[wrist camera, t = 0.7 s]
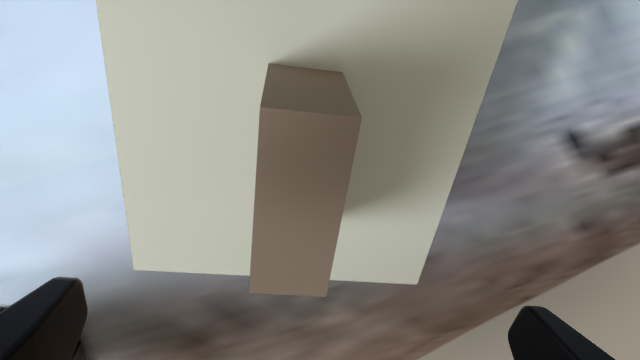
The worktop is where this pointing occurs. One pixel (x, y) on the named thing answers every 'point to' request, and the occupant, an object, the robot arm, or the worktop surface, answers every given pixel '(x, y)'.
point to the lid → (293, 131)
